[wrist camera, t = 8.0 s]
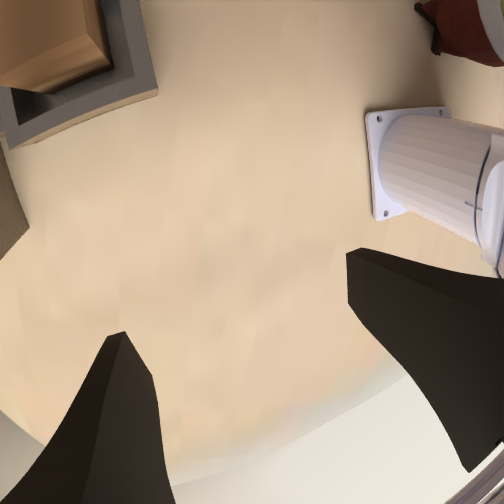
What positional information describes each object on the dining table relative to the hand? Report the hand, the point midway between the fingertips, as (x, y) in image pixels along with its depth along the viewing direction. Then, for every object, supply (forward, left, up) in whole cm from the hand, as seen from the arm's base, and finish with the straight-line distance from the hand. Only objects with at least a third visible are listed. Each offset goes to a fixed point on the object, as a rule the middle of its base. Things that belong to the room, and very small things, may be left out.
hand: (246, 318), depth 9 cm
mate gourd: (-22, -11, -10) cm, 27 cm away
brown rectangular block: (+4, -11, -9) cm, 15 cm away
